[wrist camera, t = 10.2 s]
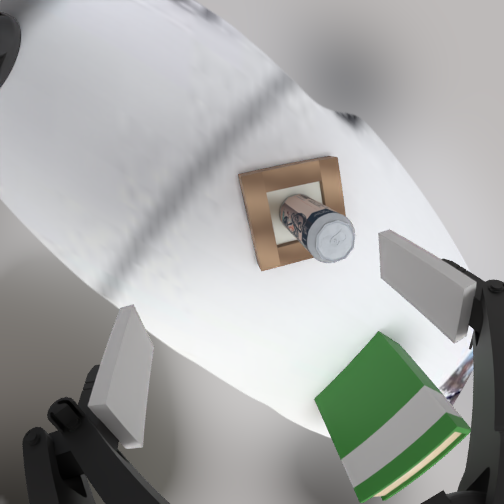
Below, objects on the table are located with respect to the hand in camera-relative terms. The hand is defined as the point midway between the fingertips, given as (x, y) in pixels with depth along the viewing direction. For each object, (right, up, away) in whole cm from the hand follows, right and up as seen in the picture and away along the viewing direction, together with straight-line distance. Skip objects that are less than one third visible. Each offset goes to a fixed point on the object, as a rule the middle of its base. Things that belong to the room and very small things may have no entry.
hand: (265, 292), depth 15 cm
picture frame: (+5, +7, +24) cm, 26 cm away
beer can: (+5, +7, +23) cm, 24 cm away
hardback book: (+19, -21, +37) cm, 46 cm away
